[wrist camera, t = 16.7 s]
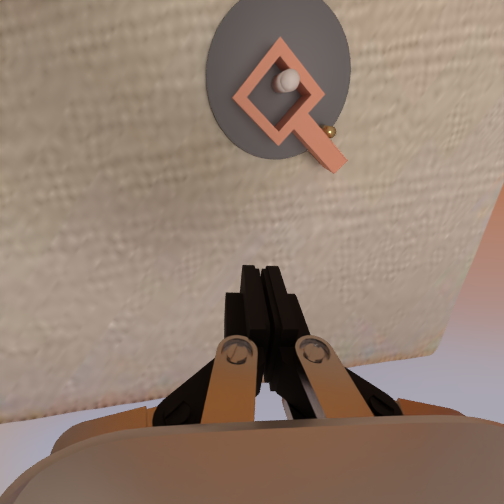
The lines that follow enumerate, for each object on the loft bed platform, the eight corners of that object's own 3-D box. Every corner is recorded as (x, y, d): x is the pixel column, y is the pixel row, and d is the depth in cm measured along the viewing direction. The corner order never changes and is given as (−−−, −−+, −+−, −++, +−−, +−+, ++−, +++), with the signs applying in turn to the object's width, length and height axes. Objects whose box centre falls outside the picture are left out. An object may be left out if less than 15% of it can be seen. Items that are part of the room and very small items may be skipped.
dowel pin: (318, 123, 31) (326, 125, 29) (328, 124, 32) (337, 127, 29) (316, 134, 32) (324, 137, 29) (325, 135, 32) (334, 138, 30)
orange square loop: (231, 98, 29) (232, 97, 26) (273, 44, 27) (280, 36, 24) (309, 179, 35) (318, 188, 31) (349, 140, 33) (364, 144, 29)
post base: (207, -26, 25) (201, -68, 19) (366, 1, 27) (408, -30, 21) (205, 152, 33) (201, 164, 26) (328, 163, 35) (351, 176, 28)
